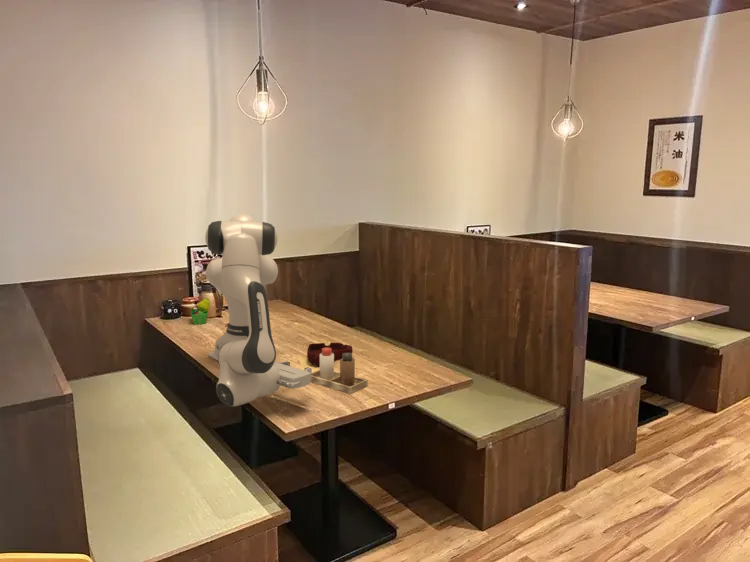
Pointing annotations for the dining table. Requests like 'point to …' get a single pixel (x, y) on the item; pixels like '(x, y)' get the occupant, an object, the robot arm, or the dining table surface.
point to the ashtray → (316, 348)
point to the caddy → (338, 382)
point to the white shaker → (327, 364)
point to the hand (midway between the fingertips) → (299, 366)
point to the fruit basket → (200, 312)
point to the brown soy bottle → (347, 370)
